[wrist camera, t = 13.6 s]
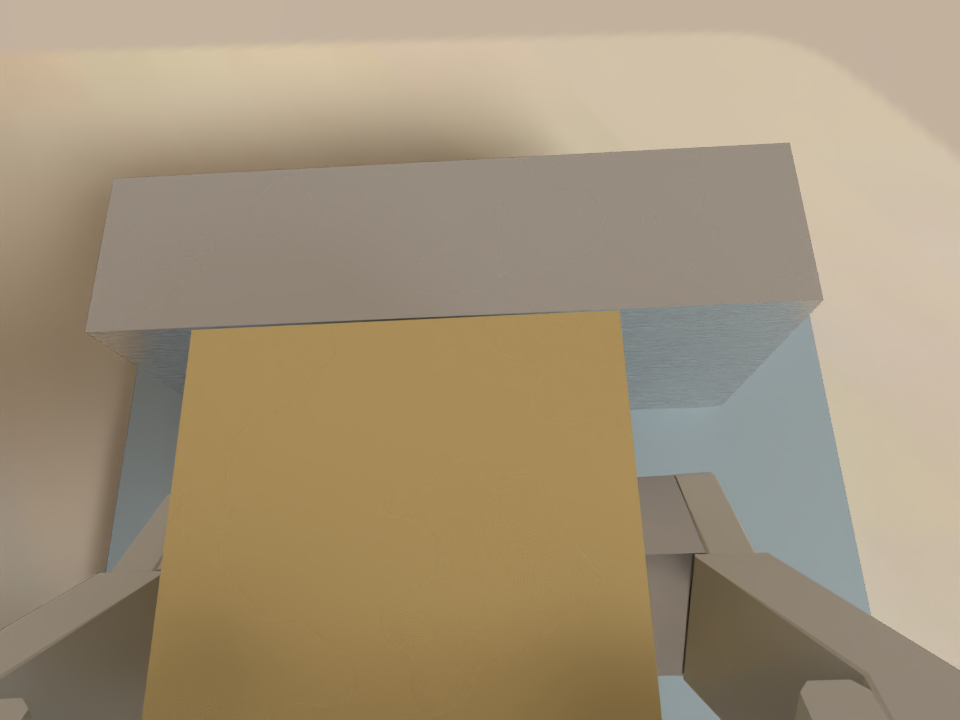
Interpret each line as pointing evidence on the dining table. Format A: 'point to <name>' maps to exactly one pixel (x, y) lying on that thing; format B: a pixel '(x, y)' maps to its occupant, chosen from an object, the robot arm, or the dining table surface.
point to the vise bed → (514, 307)
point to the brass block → (405, 526)
